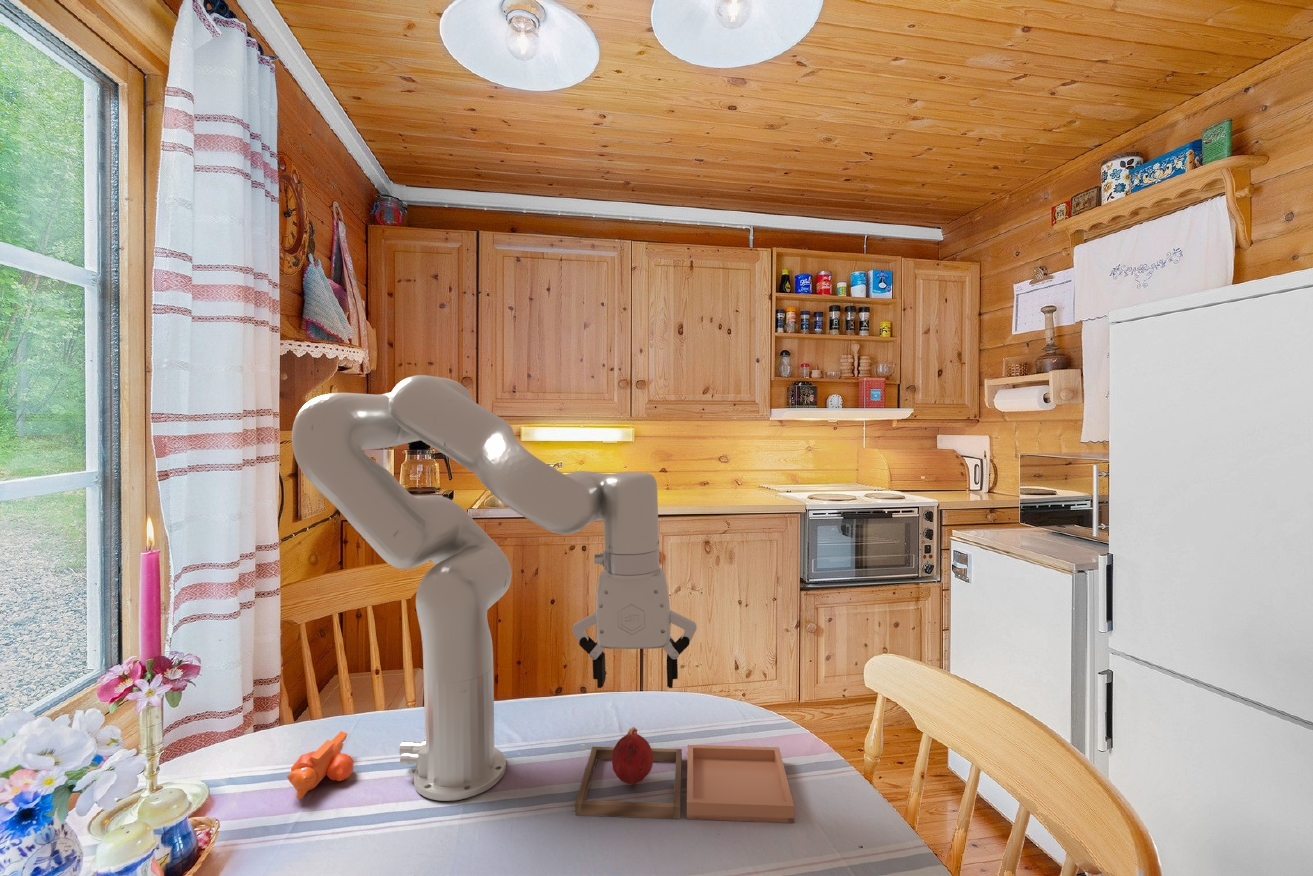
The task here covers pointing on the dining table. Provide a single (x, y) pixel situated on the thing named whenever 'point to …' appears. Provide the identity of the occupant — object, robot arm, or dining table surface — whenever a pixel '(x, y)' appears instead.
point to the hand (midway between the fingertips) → (635, 683)
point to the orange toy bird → (321, 765)
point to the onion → (632, 758)
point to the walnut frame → (629, 807)
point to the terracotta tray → (737, 784)
